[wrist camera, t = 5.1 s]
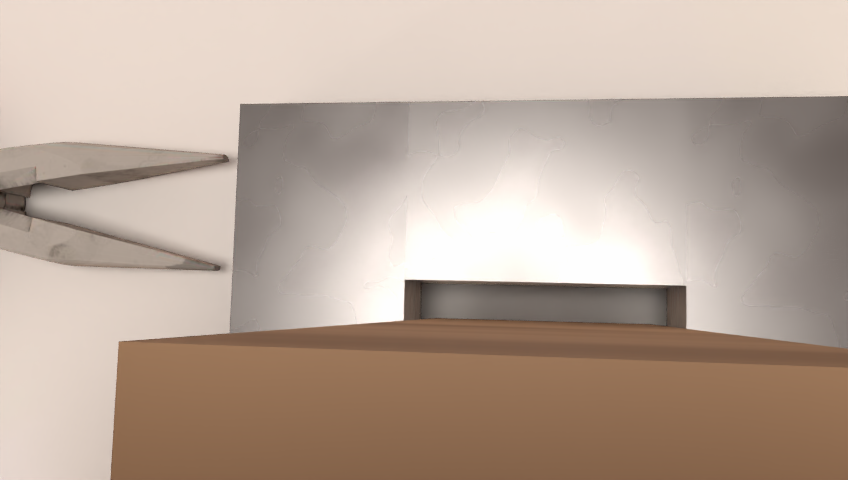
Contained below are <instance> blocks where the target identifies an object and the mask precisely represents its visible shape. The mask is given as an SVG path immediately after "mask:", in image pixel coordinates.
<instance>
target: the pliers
mask: <svg viewBox="0 0 848 480" xmlns="http://www.w3.org/2000/svg"><path fill="white" fill-rule="evenodd" d="M228 161H229V159H228V157H227V156H226V155H221V154H209V153H197V152H184V151H172V150H160V149H148V148H136V147H123V146H111V145H99V144H87V143H72V142H62V143H46V144H37V145H28V146H20V147H11V148H3V149H0V249H3V250H7V251H10V252H14V253H18V254H22V255H26V256H30V257H34V258H38V259H42V260H46V261H50V262H55V263H60V264H65V265H71V266H94V267H123V268H153V269H183V270H212V271H218V270H219V269H220V267H221V266H218V265H214V264H211V263H207V262H204V261H200V260H196V259H193V258H189V257H186V256H182V255H179V254H175V253H171V252H168V251H164V250H161V249H157V248H153V247H150V246H146V245H143V244H139V243H136V242H132V241H128V240H125V239H121V238H118V237H114V236H110V235H107V234H103V233H100V232H96V231H93V230H89V229H85V228H82V227H78V226H75V225H71V224H67V223H62V222H56V221H50V220H45V219H39V218H32V217H29V216H25V215H26V212H24V207H25V198H24V197H27V198H28V197H30V191H31V188H32V185H33V184H36V183H44V184H48V185H52V186H56V187H61V188H65V189H69V190H79V189H85V188H91V187H97V186H104V185H110V184H116V183H121V182H126V181H131V180H136V179H141V178H146V177H152V176H157V175H162V174H167V173H172V172H177V171H182V170H187V169H192V168H197V167H203V166H208V165H213V164H218V163H223V162H228Z"/></svg>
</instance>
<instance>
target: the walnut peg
mask: <svg viewBox="0 0 848 480" xmlns="http://www.w3.org/2000/svg"><path fill="white" fill-rule="evenodd" d="M111 480H848V349H846V348H838V347H830V346H822V345H814V344H805V343H797V342H789V341H781V340H773V339H765V338H757V337H749V336H741V335H732V334H724V333H716V332H708V331H700V330H692V329H684V328H676V327H668V326H660V325H651V324H617V323H583V322H548V321H514V320H479V319H445V318H432V319H419V320H405V321H392V322H378V323H365V324H351V325H338V326H324V327H311V328H297V329H284V330H270V331H257V332H243V333H230V334H216V335H202V336H189V337H175V338H162V339H148V340H135V341H121V342H119V349H118V365H117V382H116V398H115V415H114V431H113V448H112V464H111Z"/></svg>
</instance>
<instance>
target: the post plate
mask: <svg viewBox="0 0 848 480" xmlns="http://www.w3.org/2000/svg"><path fill="white" fill-rule="evenodd" d="M422 283H448V284H493V285H538V286H583V287H629V288H667V326H668V327H676V328H684V329H692V330H700V331H708V332H716V333H724V334H732V335H741V336H749V337H757V338H765V339H773V340H781V341H789V342H797V343H805V344H814V345H822V346H830V347H838V348H846V349H848V96H835V97H757V98H679V99H601V100H523V101H445V102H367V103H289V104H240V124H239V146H238V167H237V188H236V210H235V231H234V253H233V274H232V296H231V317H230V333H243V332H257V331H270V330H284V329H297V328H311V327H324V326H338V325H351V324H365V323H378V322H392V321H405V320H419V319H421V284H422Z"/></svg>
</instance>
